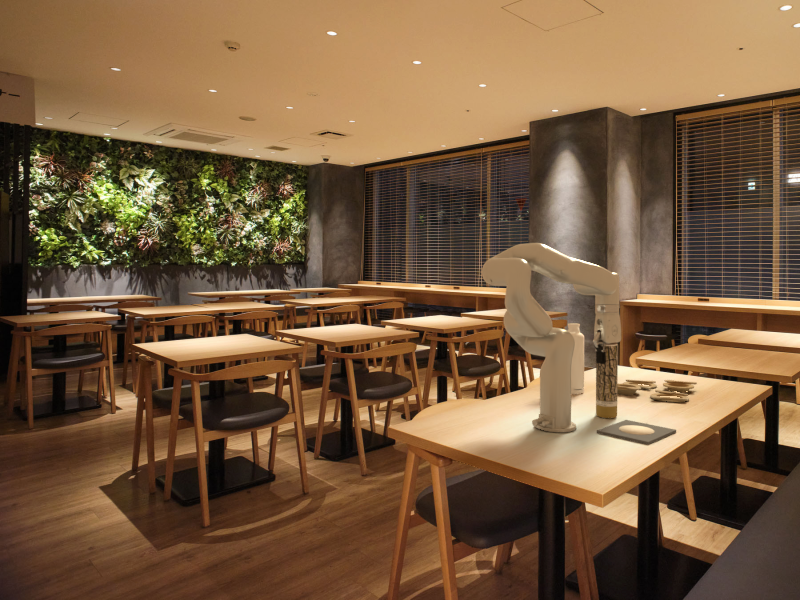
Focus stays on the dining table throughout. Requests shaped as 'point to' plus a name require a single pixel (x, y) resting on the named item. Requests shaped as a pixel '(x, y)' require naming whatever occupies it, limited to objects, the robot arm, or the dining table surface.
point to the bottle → (577, 360)
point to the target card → (637, 431)
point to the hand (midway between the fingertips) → (606, 361)
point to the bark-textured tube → (607, 383)
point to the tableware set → (672, 385)
